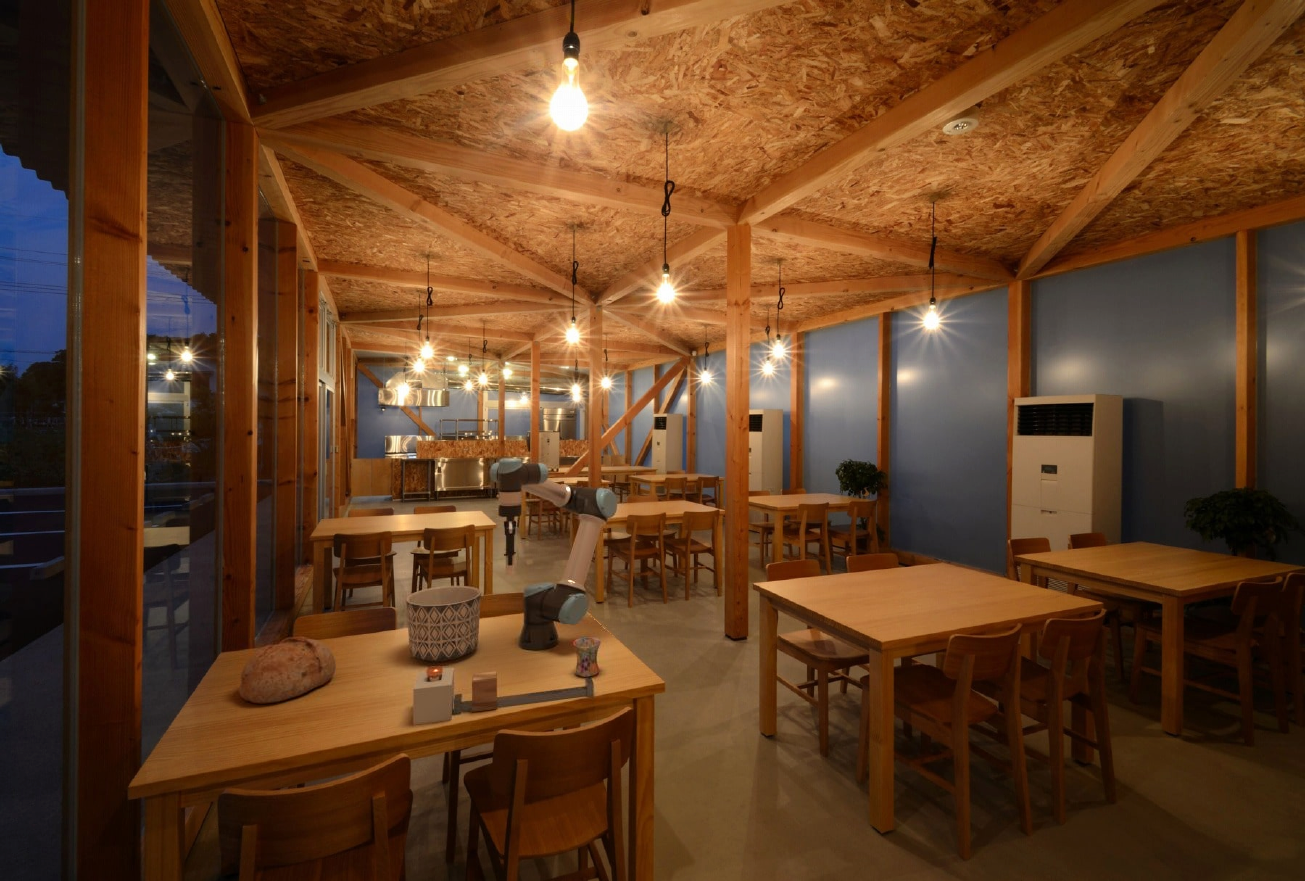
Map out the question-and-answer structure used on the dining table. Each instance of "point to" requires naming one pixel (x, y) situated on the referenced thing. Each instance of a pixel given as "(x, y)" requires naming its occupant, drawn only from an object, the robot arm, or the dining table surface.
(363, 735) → the dining table surface
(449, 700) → the knob base
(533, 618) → the robot arm
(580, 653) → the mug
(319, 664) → the bread
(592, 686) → the rail
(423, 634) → the planter
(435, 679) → the push button
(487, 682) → the block
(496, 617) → the dining table surface
